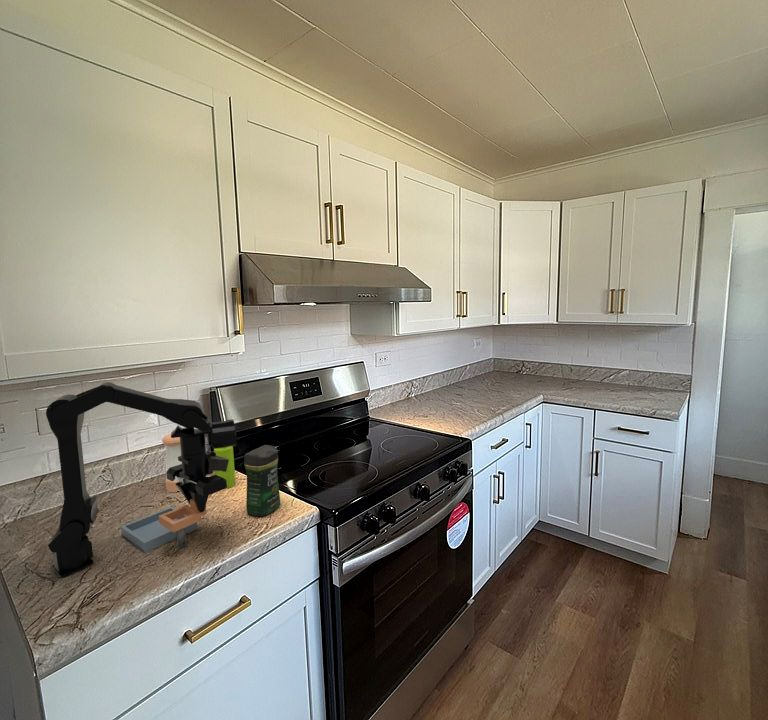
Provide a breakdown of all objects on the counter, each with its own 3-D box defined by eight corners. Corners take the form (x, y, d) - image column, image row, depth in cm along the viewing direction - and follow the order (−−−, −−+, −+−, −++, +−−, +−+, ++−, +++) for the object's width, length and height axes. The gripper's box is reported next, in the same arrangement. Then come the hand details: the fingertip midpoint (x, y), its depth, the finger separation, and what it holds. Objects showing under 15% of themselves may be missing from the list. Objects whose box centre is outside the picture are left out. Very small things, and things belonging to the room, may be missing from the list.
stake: (176, 551, 103) (173, 525, 102) (172, 548, 104) (169, 522, 103) (192, 544, 106) (189, 518, 105) (187, 541, 107) (185, 516, 106)
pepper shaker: (180, 481, 144) (176, 427, 142) (195, 485, 141) (190, 429, 138) (161, 489, 138) (155, 433, 135) (175, 494, 134) (170, 436, 132)
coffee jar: (264, 519, 117) (260, 455, 115) (242, 514, 120) (238, 452, 118) (285, 504, 126) (282, 444, 124) (264, 500, 129) (260, 441, 127)
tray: (145, 552, 102) (144, 543, 102) (121, 535, 110) (120, 526, 110) (197, 528, 113) (196, 520, 113) (172, 514, 121) (171, 506, 121)
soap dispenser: (219, 491, 136) (214, 431, 133) (215, 484, 141) (210, 426, 139) (238, 487, 139) (234, 428, 136) (233, 480, 144) (229, 423, 142)
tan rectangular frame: (173, 532, 99) (172, 516, 99) (159, 523, 103) (157, 508, 103) (210, 515, 107) (209, 500, 106) (196, 508, 111) (195, 493, 110)
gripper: (243, 449, 106) (247, 507, 108) (203, 436, 118) (207, 489, 120) (202, 463, 98) (207, 526, 100) (163, 447, 109) (168, 505, 111)
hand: (198, 510), depth 108 cm, fingers closed on tan rectangular frame, 3 cm apart
